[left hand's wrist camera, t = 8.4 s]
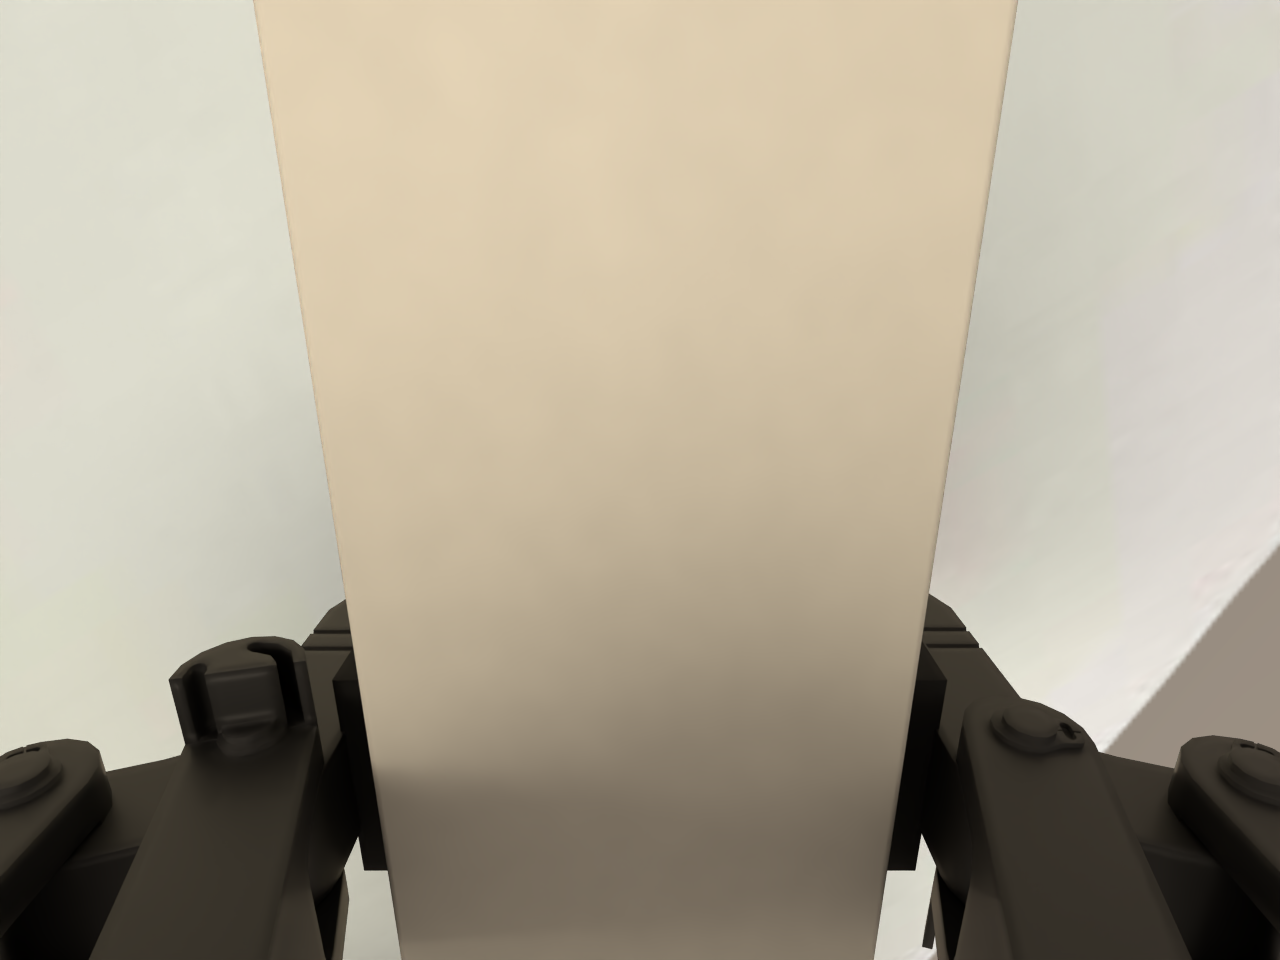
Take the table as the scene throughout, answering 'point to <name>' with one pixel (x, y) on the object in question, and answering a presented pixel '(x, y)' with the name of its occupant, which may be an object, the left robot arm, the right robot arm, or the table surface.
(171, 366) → the table surface
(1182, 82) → the table surface
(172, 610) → the table surface
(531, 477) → the bar
